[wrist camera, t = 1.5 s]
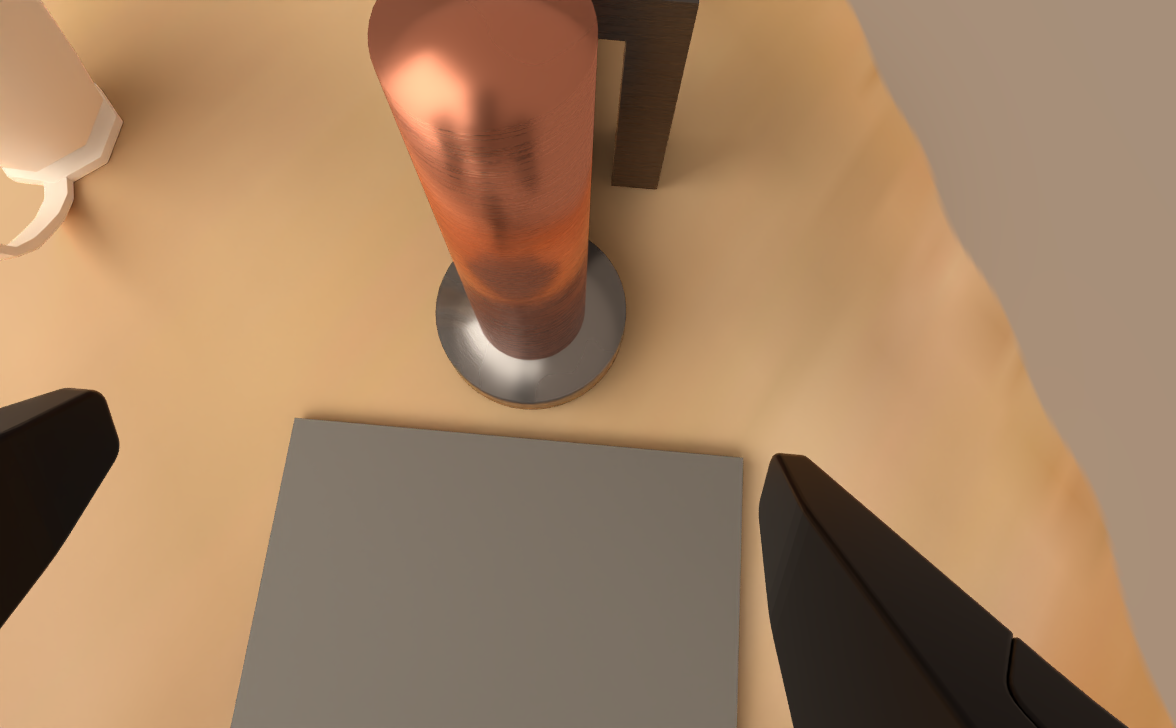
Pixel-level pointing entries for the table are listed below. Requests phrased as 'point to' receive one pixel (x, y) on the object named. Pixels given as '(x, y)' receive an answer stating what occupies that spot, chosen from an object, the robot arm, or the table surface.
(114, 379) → the table surface
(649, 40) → the brown square arch
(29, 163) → the cup
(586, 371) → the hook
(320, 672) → the mat
